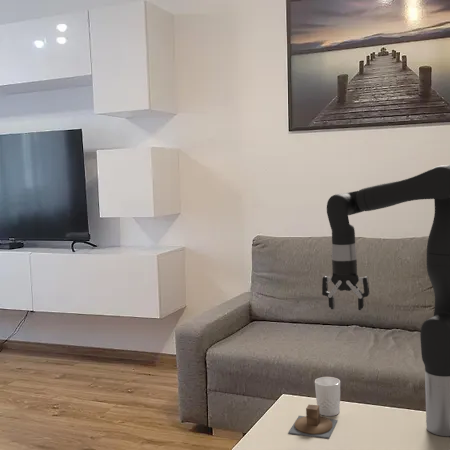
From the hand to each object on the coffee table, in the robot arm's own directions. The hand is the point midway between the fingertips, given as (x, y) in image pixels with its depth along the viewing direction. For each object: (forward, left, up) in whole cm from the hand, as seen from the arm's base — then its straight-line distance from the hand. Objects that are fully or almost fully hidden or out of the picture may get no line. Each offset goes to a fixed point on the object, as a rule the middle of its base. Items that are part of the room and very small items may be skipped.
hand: (346, 309), depth 182 cm
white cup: (+6, +4, -32) cm, 33 cm away
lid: (+8, +16, -32) cm, 36 cm away
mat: (+8, +16, -32) cm, 37 cm away
